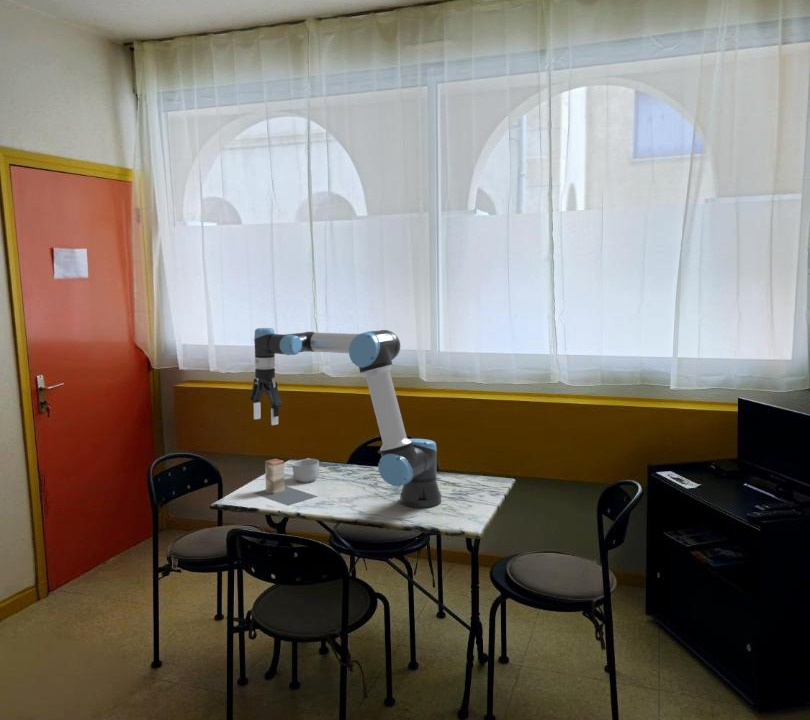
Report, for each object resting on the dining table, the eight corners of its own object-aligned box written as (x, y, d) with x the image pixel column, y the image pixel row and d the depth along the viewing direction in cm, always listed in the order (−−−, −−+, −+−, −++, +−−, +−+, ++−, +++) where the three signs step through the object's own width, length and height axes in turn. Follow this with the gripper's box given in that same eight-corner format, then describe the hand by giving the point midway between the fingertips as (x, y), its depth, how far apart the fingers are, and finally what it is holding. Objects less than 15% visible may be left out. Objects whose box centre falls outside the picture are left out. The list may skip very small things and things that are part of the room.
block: (284, 491, 262) (283, 460, 260) (273, 494, 258) (273, 463, 257) (276, 488, 265) (275, 458, 264) (266, 491, 261) (265, 461, 260)
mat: (318, 497, 255) (318, 496, 255) (288, 506, 245) (288, 505, 245) (282, 485, 270) (282, 484, 270) (252, 494, 260) (252, 493, 260)
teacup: (314, 485, 270) (314, 465, 270) (288, 484, 272) (288, 464, 271) (325, 475, 284) (324, 456, 283) (300, 474, 286) (299, 456, 285)
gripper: (240, 365, 270) (241, 417, 273) (273, 372, 252) (273, 428, 254) (257, 363, 275) (258, 415, 278) (290, 370, 257) (291, 425, 259)
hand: (265, 421), depth 266 cm, fingers open, 13 cm apart
